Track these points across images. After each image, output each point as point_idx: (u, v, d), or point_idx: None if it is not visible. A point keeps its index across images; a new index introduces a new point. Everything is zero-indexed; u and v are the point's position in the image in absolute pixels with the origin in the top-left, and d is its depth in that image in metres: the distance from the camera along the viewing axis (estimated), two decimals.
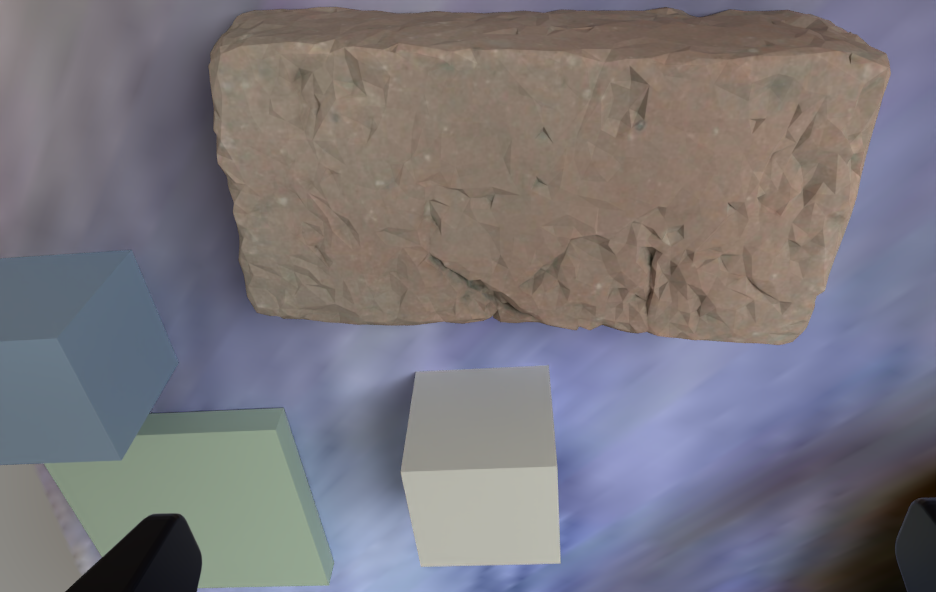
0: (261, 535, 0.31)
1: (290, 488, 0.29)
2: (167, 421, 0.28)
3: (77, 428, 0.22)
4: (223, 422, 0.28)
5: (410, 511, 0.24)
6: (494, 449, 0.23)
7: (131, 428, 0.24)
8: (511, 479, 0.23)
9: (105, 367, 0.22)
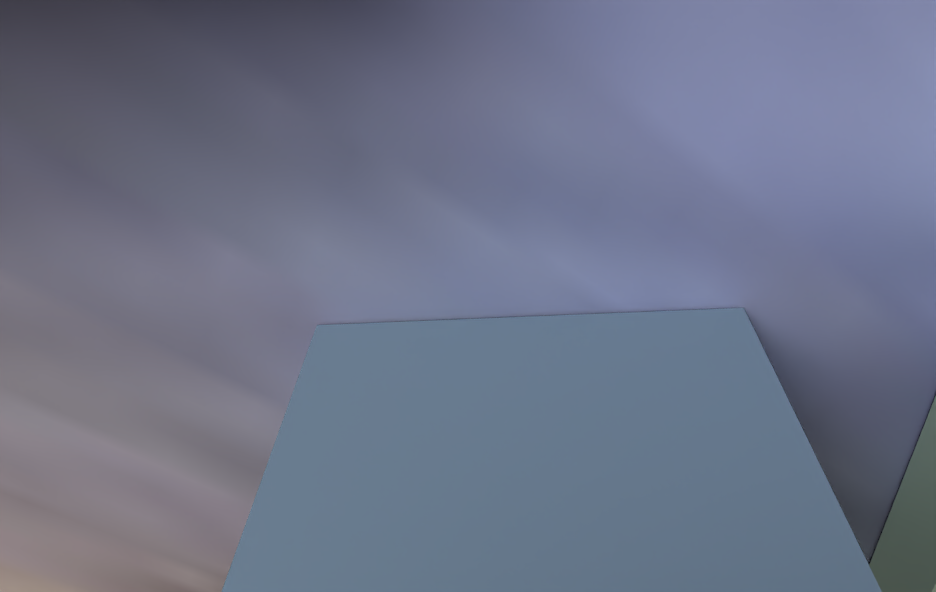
0: None
1: None
2: None
3: None
4: None
5: None
6: None
7: None
8: None
9: None
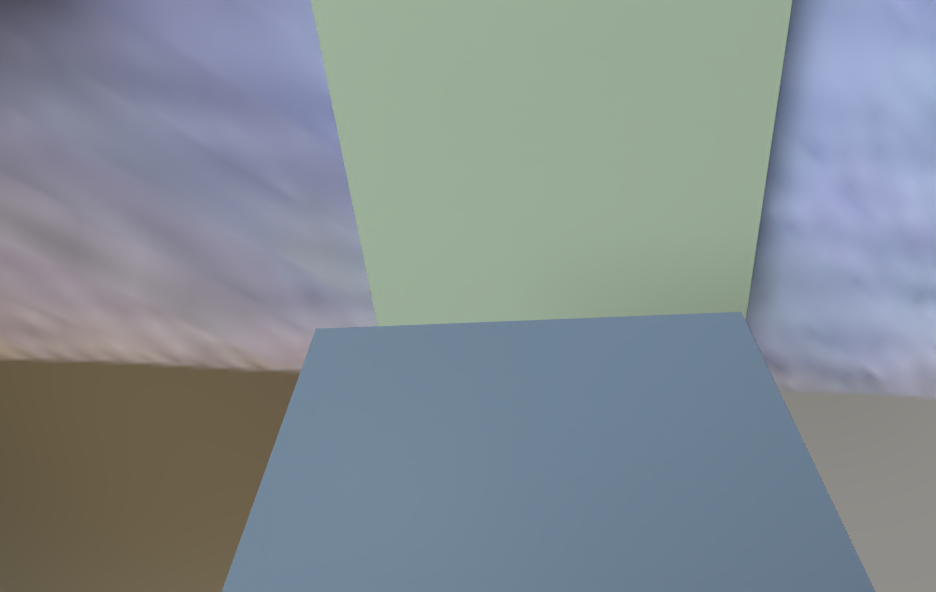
0: (609, 68, 0.16)
1: None
2: None
3: None
4: None
5: None
6: None
7: None
8: None
9: None
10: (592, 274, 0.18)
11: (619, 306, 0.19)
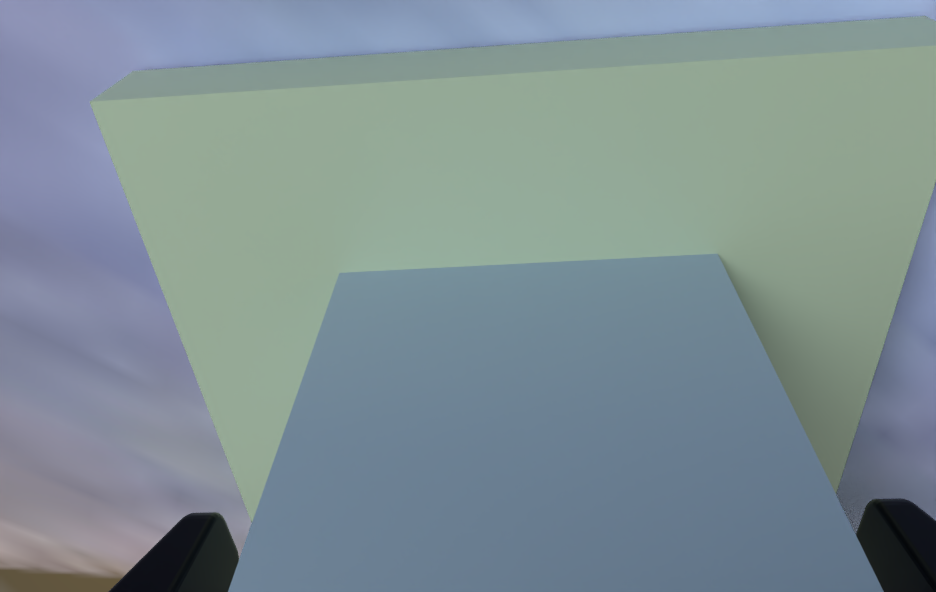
0: (619, 238, 0.09)
1: (371, 101, 0.08)
2: None
3: None
4: None
5: None
6: None
7: (791, 496, 0.06)
8: None
9: (494, 487, 0.06)
10: None
11: None
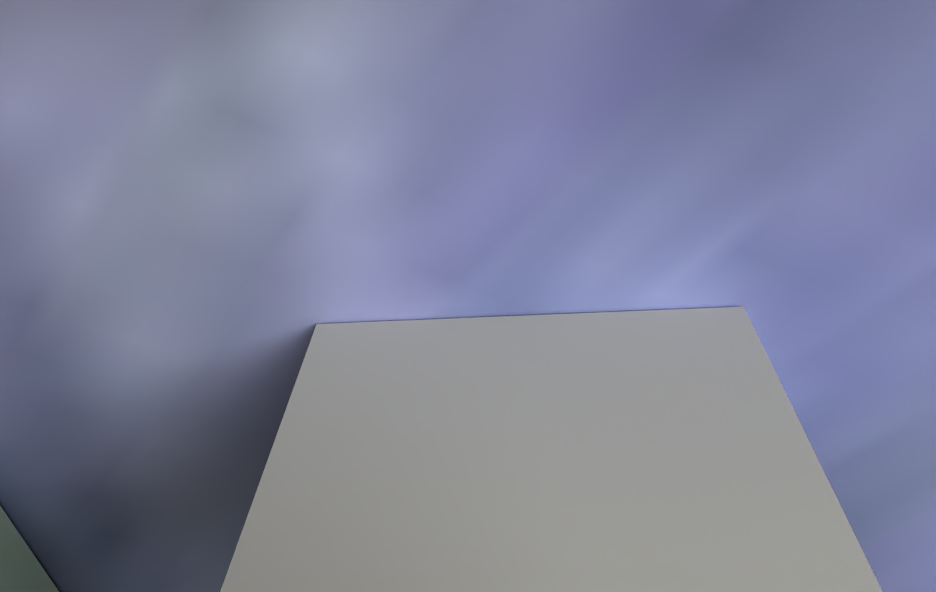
0: None
1: None
2: None
3: None
4: None
5: None
6: None
7: None
8: None
9: None
10: None
11: None
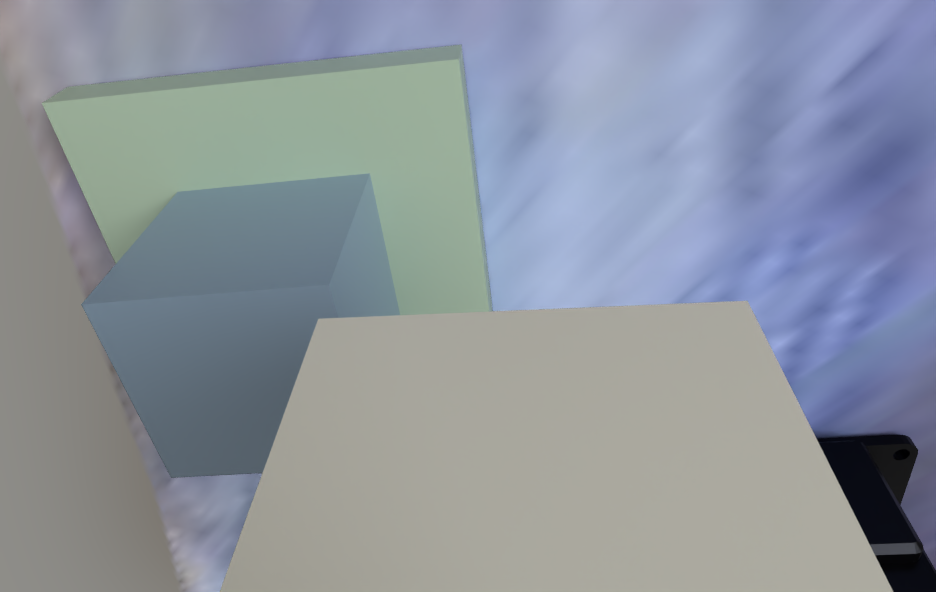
0: (407, 296, 0.20)
1: (466, 194, 0.18)
2: (269, 70, 0.17)
3: None
4: (364, 62, 0.17)
5: None
6: None
7: None
8: None
9: None
10: None
11: None
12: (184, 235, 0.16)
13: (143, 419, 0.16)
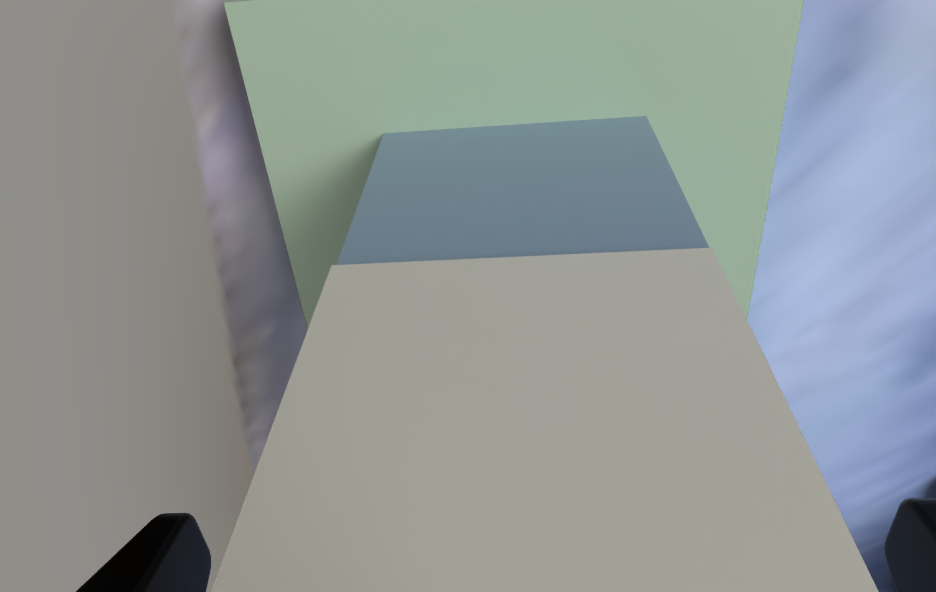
0: None
1: (766, 148, 0.14)
2: None
3: None
4: None
5: None
6: (592, 518, 0.06)
7: None
8: None
9: None
10: None
11: None
12: (432, 184, 0.12)
13: None
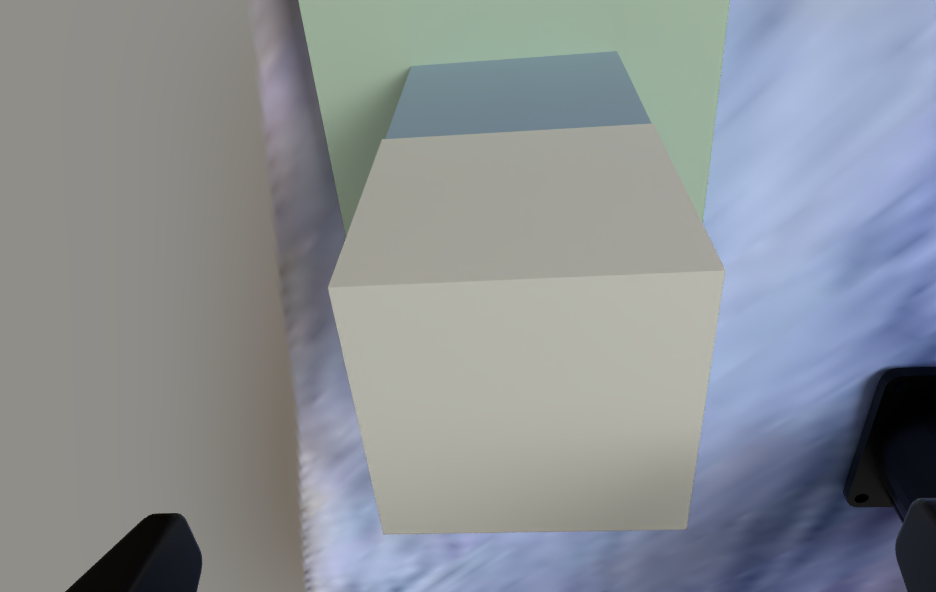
0: None
1: (712, 77, 0.17)
2: None
3: None
4: None
5: (356, 399, 0.10)
6: (559, 245, 0.10)
7: None
8: (602, 310, 0.09)
9: None
10: None
11: None
12: (451, 95, 0.15)
13: None
